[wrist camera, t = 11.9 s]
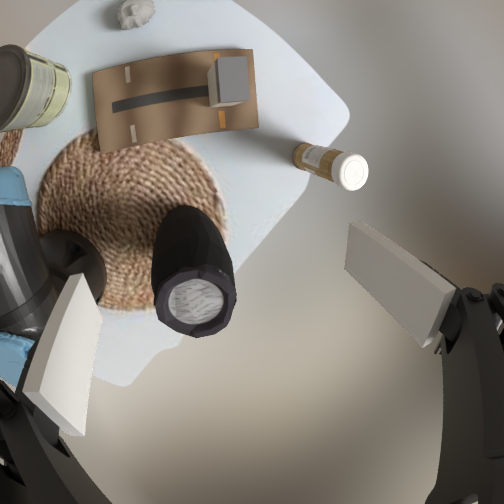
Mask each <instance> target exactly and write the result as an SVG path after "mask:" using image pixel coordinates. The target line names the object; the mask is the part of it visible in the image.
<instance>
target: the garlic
mask: <svg viewBox="0 0 504 504" xmlns="http://www.w3.org/2000/svg"><path fill="white" fill-rule="evenodd" d="M154 12H155V8H154V5H153V0H126V1H125V2H123V3H122V4H121V5H120V6H119V7H118V10H117V20H118V21H119V22H120V24H121V28H122V29H124V30H129V29H131V28H133V27H141V26H142V25H144V24H146V23H148V22H149V20H150V19H151V17H152V15H153V14H154Z"/></svg>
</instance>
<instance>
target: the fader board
mask: <svg viewBox="0 0 504 504" xmlns="http://www.w3.org/2000/svg"><path fill="white" fill-rule="evenodd" d="M241 56H247V67H248V80H249V93H250V100H249V101H245V102H242V103H239V104H236V105H233V106H222V107H212V108H210V101H209V89H208V77H207V73H208V71H209V70H210V68H211V66H212V65H213V63H214V62H215V60H216V59H217V58H218V57H241ZM92 75H93V92H94V104H95V114H96V123H97V131H98V138H99V145H100V151H101V154H104V153H108V152H112V151H116V150H120V149H124V148H128V147H132V146H137V145H141V144H146V143H151V142H156V141H161V140H167V139H172V138H178V137H184V136H191V135H197V134H205V133H212V132H221V131H230V130H240V129H253V128H259V125H258V111H257V97H256V84H255V71H254V58H253V49H234V50H213V51H201V52H191V53H182V54H175V55H168V56H162V57H156V58H150V59H145V60H140V61H136V62H131V63H127V64H123V65H119V66H115V67H111V68H108V69H104V70H101V71H97V72H94V73H92Z"/></svg>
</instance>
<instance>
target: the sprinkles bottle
mask: <svg viewBox="0 0 504 504" xmlns="http://www.w3.org/2000/svg"><path fill="white" fill-rule="evenodd" d="M293 160H294V163H295V165H296V166H297V167H298V168H299V169H301V170H304V171H308V172H309V173H312V174H314V175H317V176H319V177H322V178H325V179H328V180H329V181H332V182H335V183H336V184H337V185H338V186H340V187H342V188H344V189H347V190H357V189H359V188H360V187H361V186H363V184H364V183H365V181H366V179H367V176H368V165H367V163H366V161H365V159H364V158H363V157H362V156H360V155H358V154H355V153H351V152H342V151H338V150H336V149H331V148H327V147H322V146H317V145H312V144H309V143H303V144H301V145H299V146H298V147H297V148H296V149H295V151H294V154H293Z"/></svg>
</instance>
